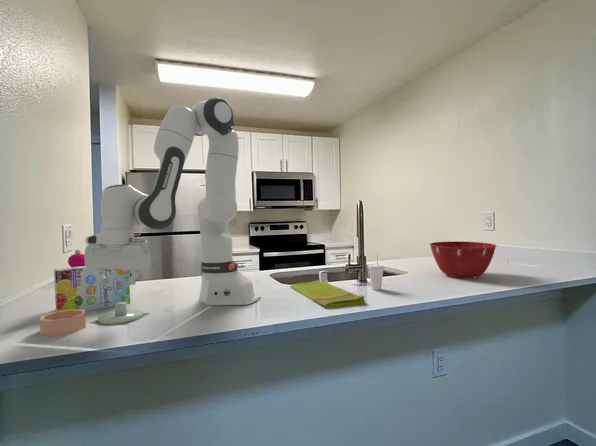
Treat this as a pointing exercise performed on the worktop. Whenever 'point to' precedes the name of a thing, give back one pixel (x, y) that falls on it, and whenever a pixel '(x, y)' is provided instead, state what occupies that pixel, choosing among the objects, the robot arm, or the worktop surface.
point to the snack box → (89, 288)
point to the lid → (120, 315)
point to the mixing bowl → (463, 258)
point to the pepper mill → (77, 259)
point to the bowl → (62, 322)
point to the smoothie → (376, 275)
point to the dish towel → (327, 294)
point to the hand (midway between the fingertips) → (117, 284)
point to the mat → (122, 323)
